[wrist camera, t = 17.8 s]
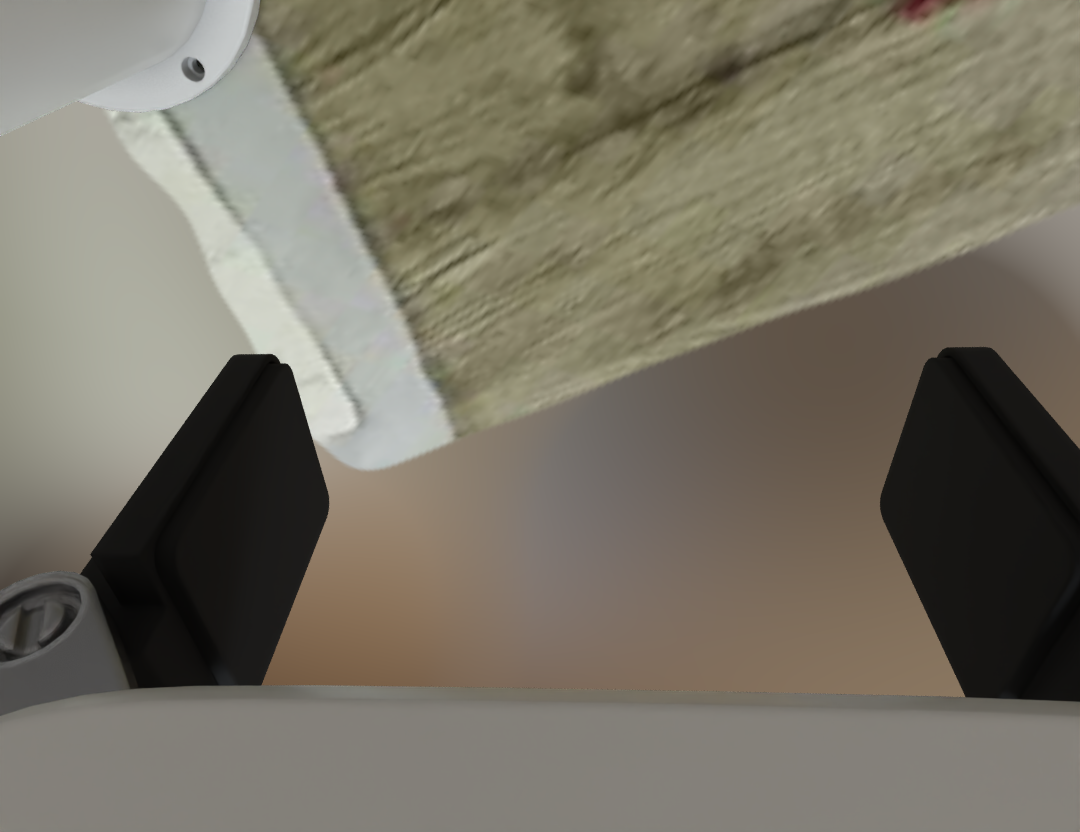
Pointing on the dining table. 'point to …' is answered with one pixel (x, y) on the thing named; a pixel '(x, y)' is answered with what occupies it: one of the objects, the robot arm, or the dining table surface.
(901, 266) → the dining table surface
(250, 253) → the dining table surface
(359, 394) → the dining table surface
